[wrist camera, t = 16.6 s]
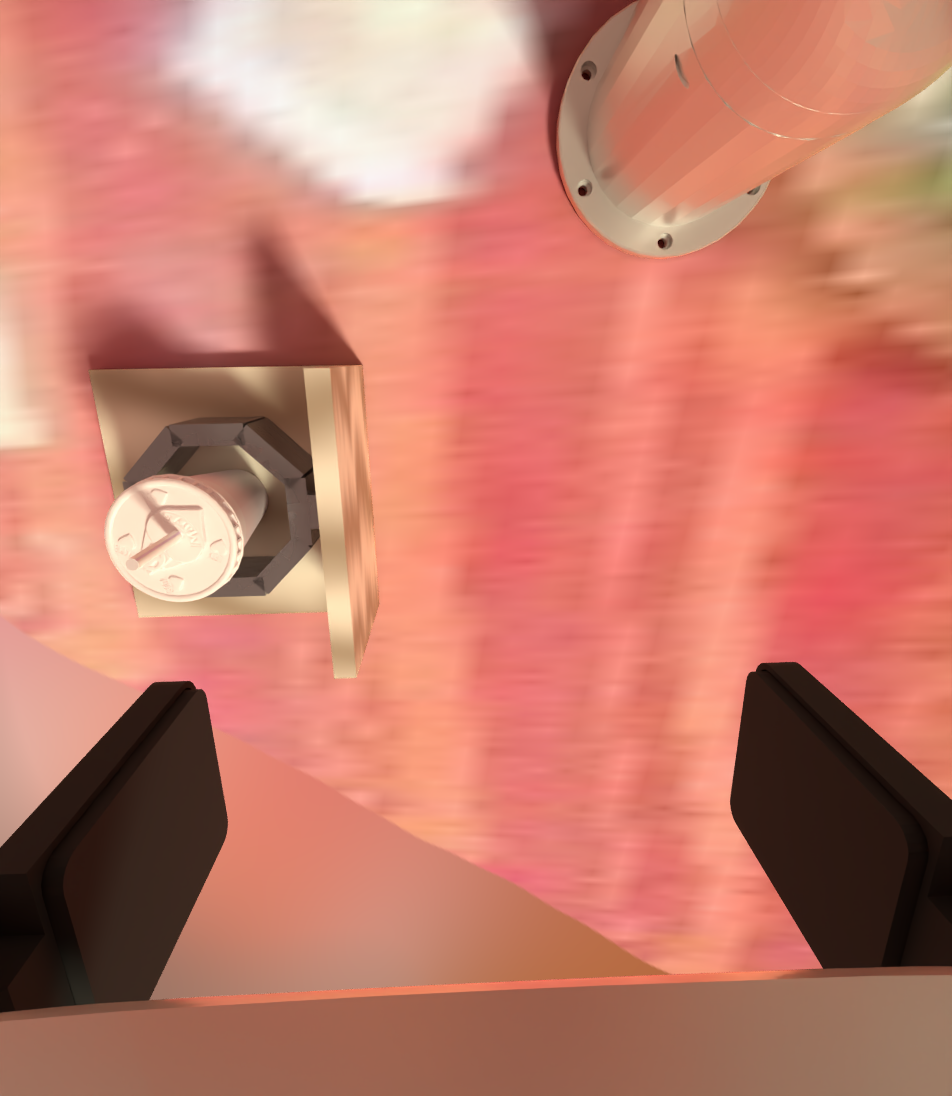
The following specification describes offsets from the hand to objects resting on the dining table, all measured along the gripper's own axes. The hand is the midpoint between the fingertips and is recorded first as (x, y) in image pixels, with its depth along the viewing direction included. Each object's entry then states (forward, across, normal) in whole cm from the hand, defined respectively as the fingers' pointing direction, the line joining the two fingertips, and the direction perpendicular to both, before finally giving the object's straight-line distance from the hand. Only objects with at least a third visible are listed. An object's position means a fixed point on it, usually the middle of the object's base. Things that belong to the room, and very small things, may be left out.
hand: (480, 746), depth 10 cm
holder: (+30, +14, +2) cm, 33 cm away
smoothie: (+29, +14, +2) cm, 33 cm away
